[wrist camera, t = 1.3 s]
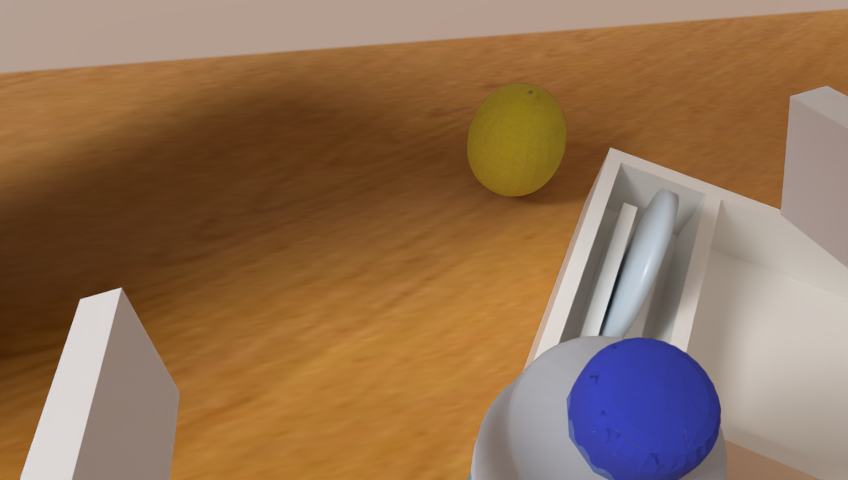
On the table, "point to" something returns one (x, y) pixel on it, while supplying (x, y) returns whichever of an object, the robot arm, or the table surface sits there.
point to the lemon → (517, 140)
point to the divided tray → (716, 309)
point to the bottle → (604, 416)
